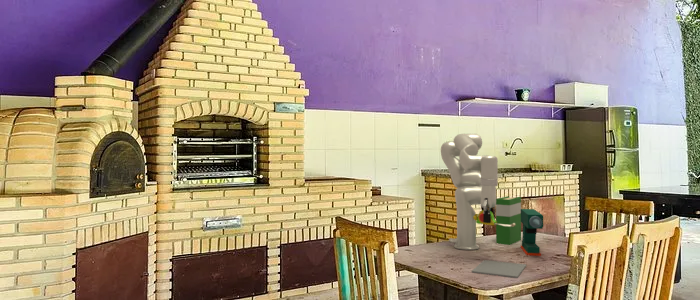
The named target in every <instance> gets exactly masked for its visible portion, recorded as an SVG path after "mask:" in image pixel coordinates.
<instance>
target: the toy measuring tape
mask: <svg viewBox="0 0 700 300" xmlns="http://www.w3.org/2000/svg"><path fill="white" fill-rule="evenodd" d="M483 211H484V210H483V209H482V210H480V211H479V212H478V213H476V214H475V215H474V216H473V219H474V220H476V224H478V225H479V224H480V225H487V226H496V224H497V222H496V218H495V219H494V215H493V213H492V212H491V211H490V214H491V223H484V222H483ZM498 225H502V226H509V227H511V226H512V227H514V226H515V225H516V224H515V223H513V224H511V225H507V224H498Z"/></svg>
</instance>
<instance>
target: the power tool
mask: <svg viewBox="0 0 700 300" xmlns="http://www.w3.org/2000/svg"><path fill="white" fill-rule="evenodd" d="M521 224H522V236H521V245H520V249H521V250H522V251H523V252H524V253H525V255H526V256H534V257H535V256H536V257H542V253H541V251H540V246H539V245H538V244H537V241H536V240H537V234H538V233H537V231H538V230H542V229H543V228H544V214H542V213H540V212H539V211H538V210H536V209H534V208H521ZM537 229H538V230H537Z"/></svg>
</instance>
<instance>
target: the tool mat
mask: <svg viewBox="0 0 700 300" xmlns="http://www.w3.org/2000/svg"><path fill="white" fill-rule="evenodd" d="M526 267H527V264H524V263H515V262H506V261H497V260H488V259H483V260H482V261H481V262H480V263H479V264H478V265H477V266H475V267H474V268H473V269H472V270H471V273H472V274H473V273H474V274H480V273H481V275H488V274H489V276H496V275H498V277H504V278H514V279H518V278H519V277H520V275H521V274H522V273H523V271H524V270H525V268H526Z"/></svg>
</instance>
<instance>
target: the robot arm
mask: <svg viewBox="0 0 700 300" xmlns="http://www.w3.org/2000/svg"><path fill="white" fill-rule="evenodd" d="M482 146H483V139H482V137H481V135H480V134H477V133H459V134H457V135H455V136H454V138H453V140H452V141H450V140H449V141H446V142H444V143H442V145H441V147H440V156H441V159H442V161H443V164H444V165H445V166H446V168H447V170H448V171H449V175H450V178H451V181H452V184H453V185H454V187H455V188H456V189H455V192H454V198H455V205H456V238H451V237H449V238H448V241H449V243H452V244H454V245H453V248H455V249H456V250H463V251H475V250H476V251H477V250H479V249H480V245H478V244H477V223H476V221H477V220H474V219H473V216H474V215H475V214H477V213H476V211H475V209H474V208H473V207H472V206H474V205H476V206H477V205H480V207H481V208H483V209H482V210H484V211H483V222H484V223H491V214H490V211H491V212H492V213H493V215H494V219H495V220H496V199H497V187H498V181H499V179H498V178H499V176H498V174H499V172H498V168H499V167H498V166H499V163H498V157H497V156H495V155H487V154H486V155H485V154H483V155H481V154H478V152H479V150H480V149H481V148H482Z"/></svg>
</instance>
